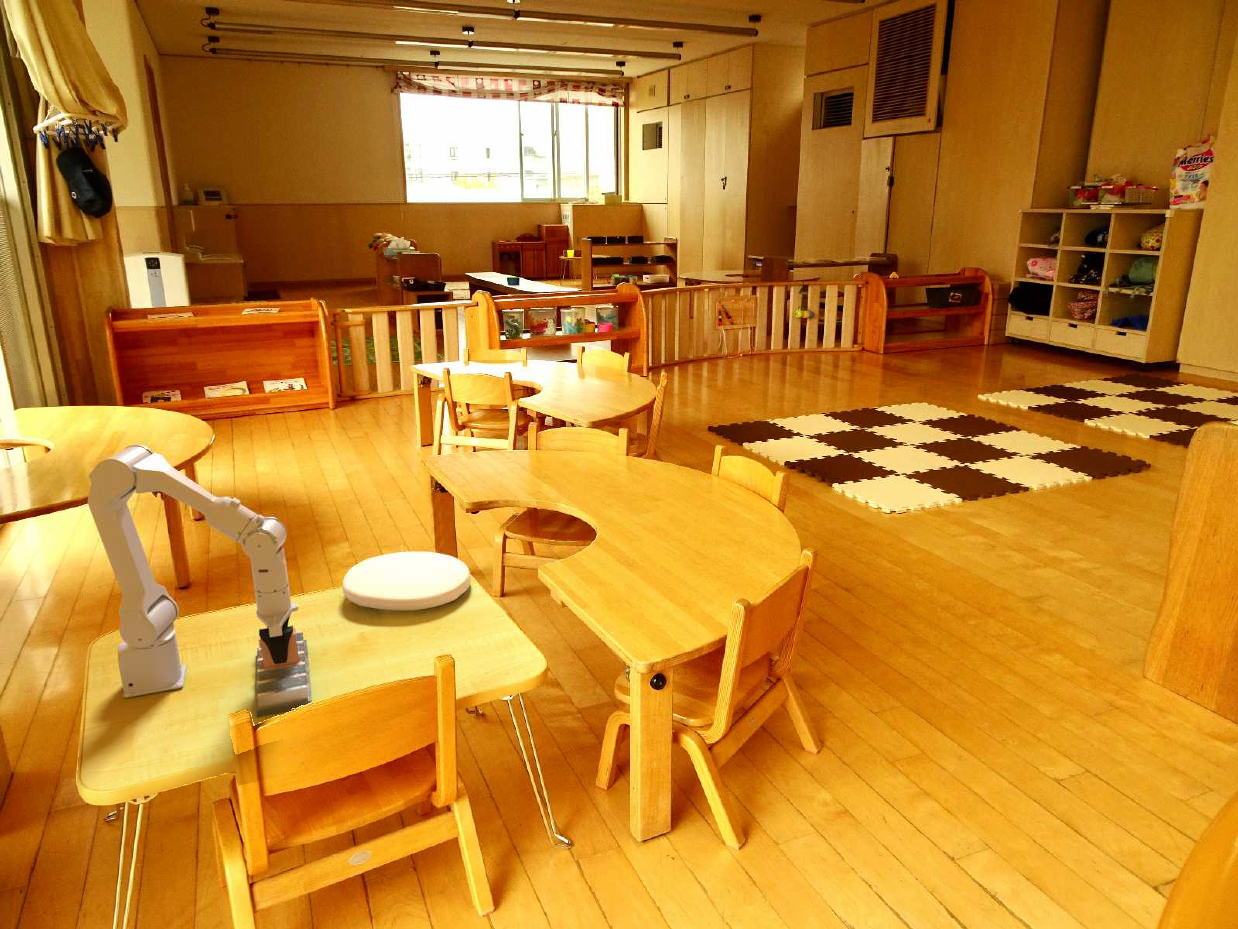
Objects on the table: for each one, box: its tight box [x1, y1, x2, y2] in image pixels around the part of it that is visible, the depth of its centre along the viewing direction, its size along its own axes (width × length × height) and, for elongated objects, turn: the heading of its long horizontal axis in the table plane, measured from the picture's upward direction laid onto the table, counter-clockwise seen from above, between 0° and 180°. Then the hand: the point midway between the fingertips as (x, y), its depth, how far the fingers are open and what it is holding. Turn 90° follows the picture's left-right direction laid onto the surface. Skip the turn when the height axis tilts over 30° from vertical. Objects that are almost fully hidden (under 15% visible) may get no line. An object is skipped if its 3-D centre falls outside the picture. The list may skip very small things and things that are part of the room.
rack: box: [255, 630, 313, 718], centre depth 156 cm, size 9×23×4 cm, turn 22°
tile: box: [259, 627, 300, 669], centre depth 155 cm, size 6×2×8 cm, turn 112°
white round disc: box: [342, 551, 472, 611], centre depth 191 cm, size 28×6×27 cm
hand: (280, 654), depth 155 cm, fingers open, 6 cm apart
